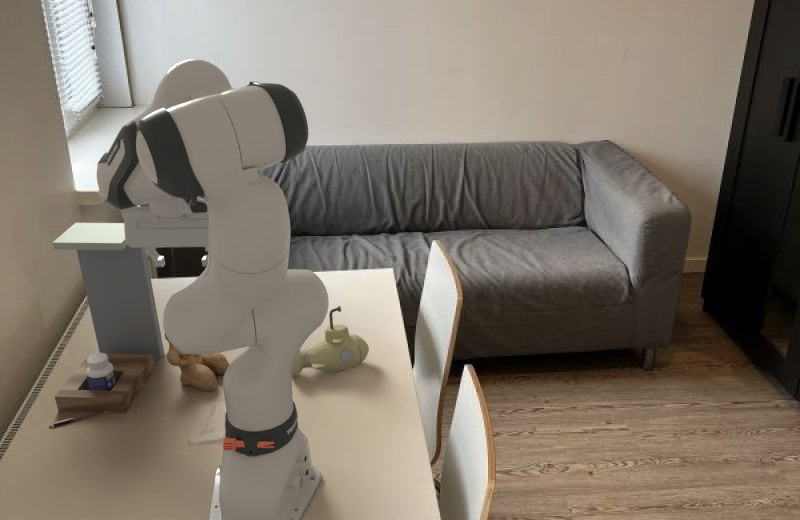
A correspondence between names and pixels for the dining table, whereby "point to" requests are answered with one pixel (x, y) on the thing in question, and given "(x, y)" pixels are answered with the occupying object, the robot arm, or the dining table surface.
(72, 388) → the socket block
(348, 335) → the toy
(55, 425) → the pen
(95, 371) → the pill bottle
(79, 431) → the dining table surface
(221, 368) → the figurine
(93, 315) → the grey pedestal stand
